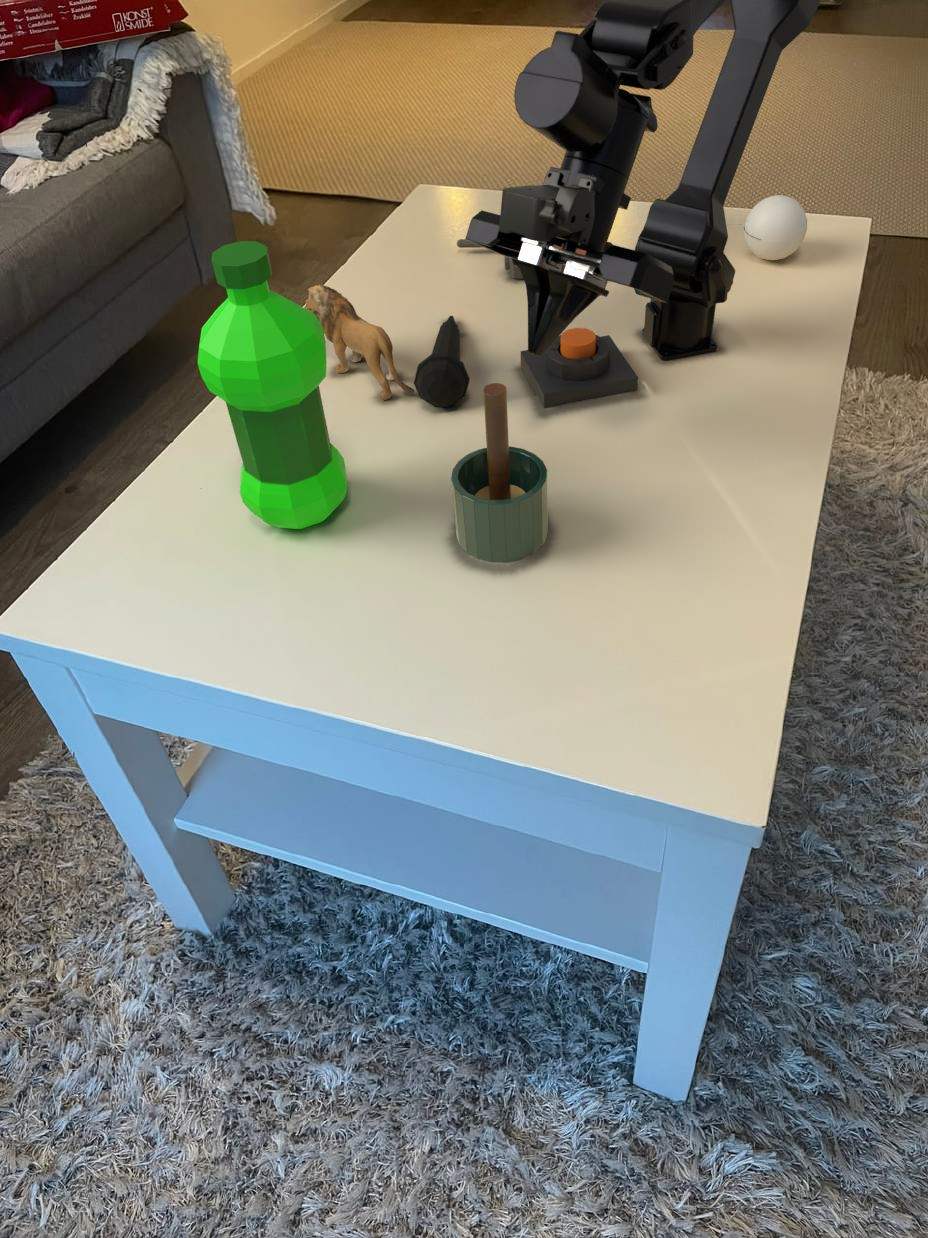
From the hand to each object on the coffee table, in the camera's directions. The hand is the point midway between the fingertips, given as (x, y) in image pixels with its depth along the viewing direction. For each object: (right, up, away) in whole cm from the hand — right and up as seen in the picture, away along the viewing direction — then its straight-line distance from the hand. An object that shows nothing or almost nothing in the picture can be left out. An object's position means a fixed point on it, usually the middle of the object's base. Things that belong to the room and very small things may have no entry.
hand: (534, 354), depth 85 cm
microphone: (-7, +4, +21) cm, 23 cm away
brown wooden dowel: (-3, -16, 0) cm, 16 cm away
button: (+6, +4, +15) cm, 16 cm away
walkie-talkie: (+3, +22, +37) cm, 43 cm away
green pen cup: (-3, -16, +1) cm, 16 cm away
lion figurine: (-18, +3, +21) cm, 28 cm away
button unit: (+6, +2, +17) cm, 18 cm away
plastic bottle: (-21, -14, +5) cm, 26 cm away
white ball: (+31, +22, +35) cm, 51 cm away
